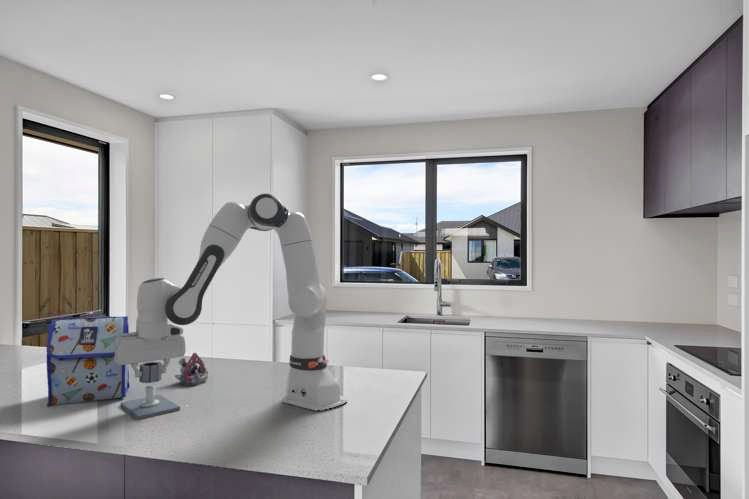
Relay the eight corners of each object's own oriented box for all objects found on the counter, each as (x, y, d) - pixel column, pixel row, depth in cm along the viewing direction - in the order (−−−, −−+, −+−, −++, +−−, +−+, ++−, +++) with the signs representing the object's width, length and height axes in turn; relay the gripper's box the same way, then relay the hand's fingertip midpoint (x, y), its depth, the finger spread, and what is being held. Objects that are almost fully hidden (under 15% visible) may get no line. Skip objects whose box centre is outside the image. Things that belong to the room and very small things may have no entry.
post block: (179, 410, 141) (180, 388, 141) (138, 419, 132) (138, 397, 132) (160, 397, 152) (160, 378, 152) (120, 405, 143) (121, 384, 143)
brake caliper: (198, 381, 163) (182, 353, 166) (178, 397, 166) (162, 369, 168) (218, 373, 174) (203, 347, 177) (199, 388, 177) (184, 362, 179)
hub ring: (163, 380, 142) (164, 364, 142) (143, 384, 138) (144, 367, 138) (156, 376, 146) (157, 361, 146) (137, 379, 142) (137, 363, 142)
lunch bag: (41, 410, 138) (43, 321, 138) (53, 394, 153) (55, 314, 153) (126, 401, 147) (128, 318, 148) (129, 387, 162) (132, 312, 163)
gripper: (118, 335, 133) (117, 383, 133) (188, 328, 147) (187, 371, 147) (111, 332, 137) (110, 378, 137) (180, 326, 152) (179, 367, 152)
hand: (150, 374), depth 142 cm, fingers closed on hub ring, 6 cm apart
